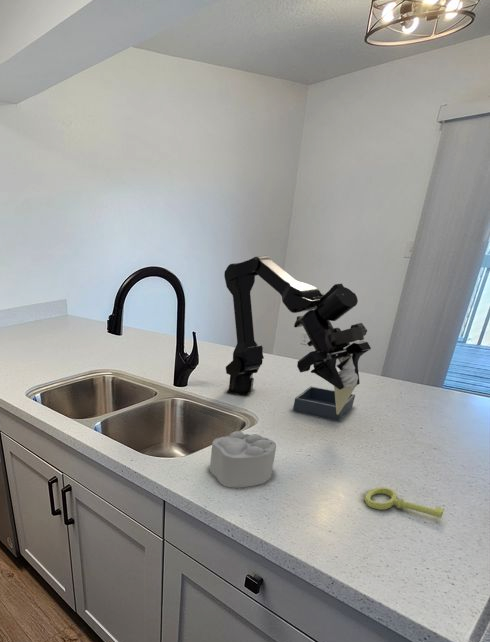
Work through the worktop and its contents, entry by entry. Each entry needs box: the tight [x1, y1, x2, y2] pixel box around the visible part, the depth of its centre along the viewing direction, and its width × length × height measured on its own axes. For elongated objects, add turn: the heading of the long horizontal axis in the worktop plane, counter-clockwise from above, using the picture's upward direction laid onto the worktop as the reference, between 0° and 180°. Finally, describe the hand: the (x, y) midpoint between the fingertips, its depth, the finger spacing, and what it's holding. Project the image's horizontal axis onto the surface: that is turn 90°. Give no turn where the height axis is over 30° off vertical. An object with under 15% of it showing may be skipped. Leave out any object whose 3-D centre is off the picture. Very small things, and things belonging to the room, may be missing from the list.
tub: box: [292, 385, 356, 422], centre depth 124 cm, size 12×12×4 cm
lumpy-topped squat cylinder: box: [209, 430, 277, 489], centre depth 95 cm, size 10×13×9 cm
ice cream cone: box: [333, 356, 358, 415], centre depth 106 cm, size 5×5×15 cm
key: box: [364, 487, 445, 519], centre depth 83 cm, size 7×12×2 cm, turn 60°
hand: (349, 386), depth 105 cm, fingers closed on ice cream cone, 5 cm apart
